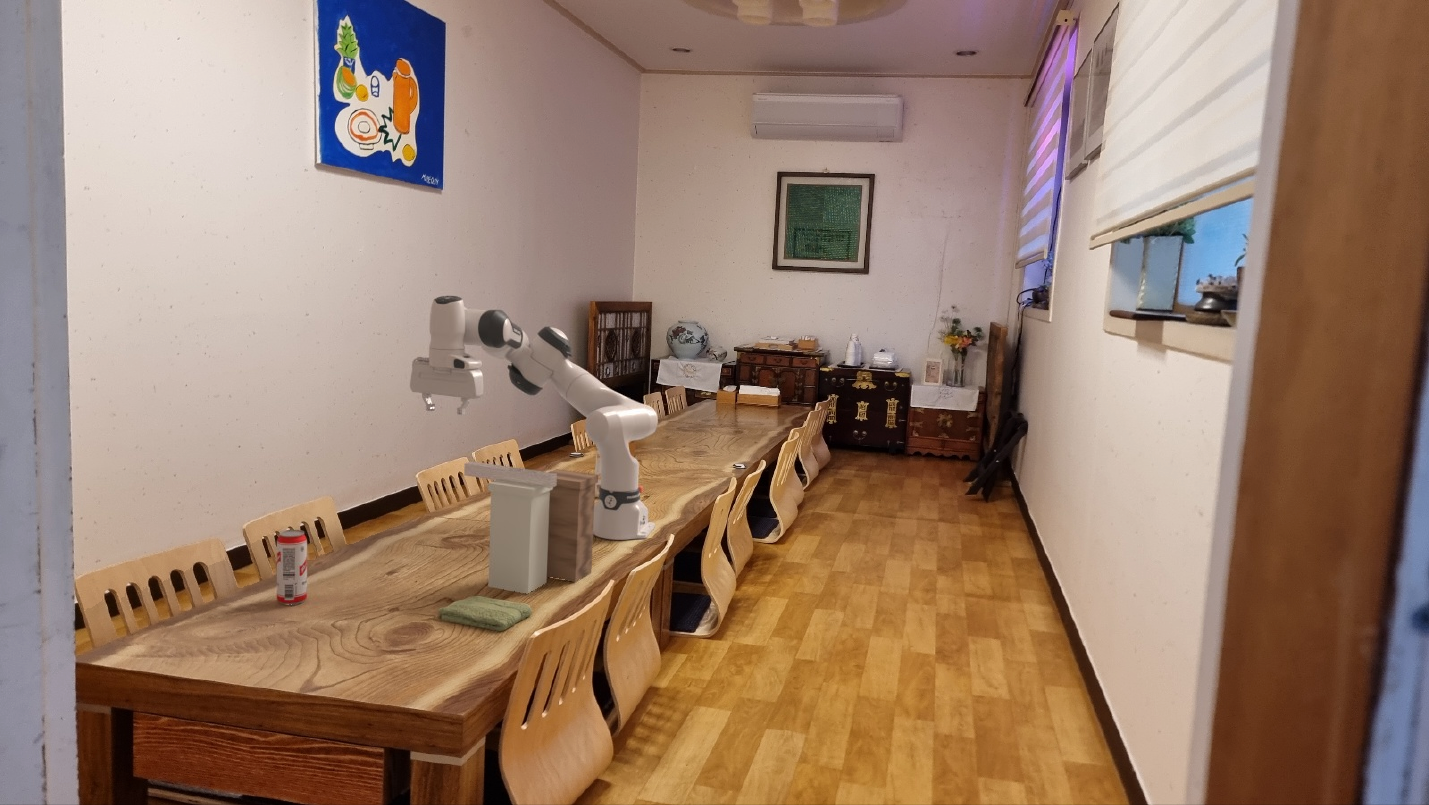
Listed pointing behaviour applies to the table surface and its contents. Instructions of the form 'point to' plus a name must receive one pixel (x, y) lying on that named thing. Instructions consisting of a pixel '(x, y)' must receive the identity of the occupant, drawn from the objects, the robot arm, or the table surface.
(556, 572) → the walnut stand
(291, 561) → the beer can
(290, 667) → the table surface
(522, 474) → the bar
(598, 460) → the coffeecake box
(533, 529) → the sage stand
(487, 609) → the washcloth
